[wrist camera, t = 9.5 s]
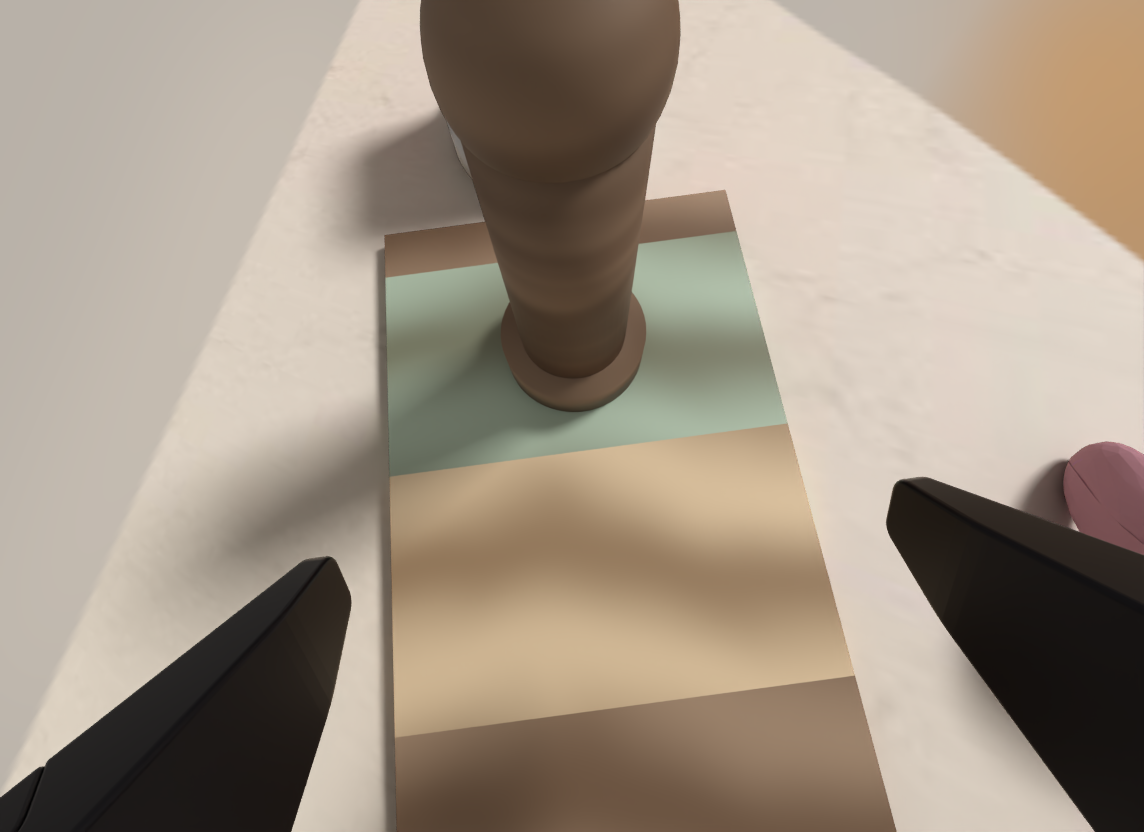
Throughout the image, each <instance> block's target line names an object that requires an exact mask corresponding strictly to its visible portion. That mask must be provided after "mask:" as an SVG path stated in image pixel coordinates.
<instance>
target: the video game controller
mask: <svg viewBox="0 0 1144 832" xmlns="http://www.w3.org/2000/svg"><path fill="white" fill-rule="evenodd" d="M1063 487H1064V495H1065V498H1066V502H1067V505H1068V509H1069V512H1070V515H1071V517H1072V519H1073V521H1074V522H1075V524H1076V526H1077V528H1078V529H1079V531H1080V532H1081V533H1084V534H1087V535H1090V536H1092V537H1095V538H1098V539H1101V540H1103V541H1106V542H1109V543H1112V544H1115V545H1117V546H1120V547H1123V548H1126V549H1129V550H1131V551H1134V552H1137V553H1140V554H1142V555H1144V454H1142V453H1140V452H1139V451H1137V450H1135V449H1133V448H1131V447H1129V446H1126V445H1124V444H1120V443H1115V442H1101V443H1096V444H1091V445H1088V446H1086V447H1084V448H1082V449H1081V450H1079V451H1078V452H1077V453H1076V454H1075V455H1073V456H1072V457H1071V458H1070V460H1069V461H1068V463H1067V466H1066V469H1065V473H1064V482H1063Z"/></svg>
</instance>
